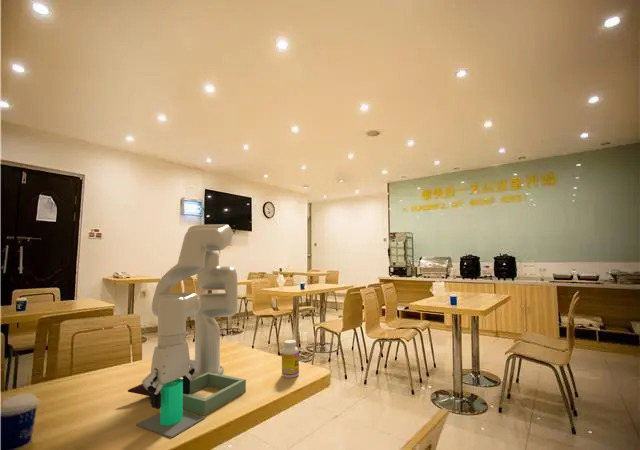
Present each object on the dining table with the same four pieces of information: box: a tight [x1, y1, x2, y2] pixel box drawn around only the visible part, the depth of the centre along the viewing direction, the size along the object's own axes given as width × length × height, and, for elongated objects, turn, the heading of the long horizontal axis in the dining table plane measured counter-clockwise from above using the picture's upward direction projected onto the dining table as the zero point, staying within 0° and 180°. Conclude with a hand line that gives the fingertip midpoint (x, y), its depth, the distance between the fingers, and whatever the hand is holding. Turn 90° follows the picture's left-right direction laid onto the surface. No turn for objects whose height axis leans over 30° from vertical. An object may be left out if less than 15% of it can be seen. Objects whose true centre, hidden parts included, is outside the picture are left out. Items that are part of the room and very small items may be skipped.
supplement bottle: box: [281, 339, 300, 379], centre depth 126 cm, size 7×7×13 cm
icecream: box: [127, 382, 161, 400], centre depth 109 cm, size 7×7×15 cm
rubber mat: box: [135, 410, 206, 439], centre depth 93 cm, size 15×11×1 cm
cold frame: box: [183, 372, 247, 416], centre depth 108 cm, size 18×18×4 cm
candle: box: [159, 378, 184, 425], centre depth 93 cm, size 6×6×12 cm
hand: (171, 400), depth 93 cm, fingers open, 9 cm apart
